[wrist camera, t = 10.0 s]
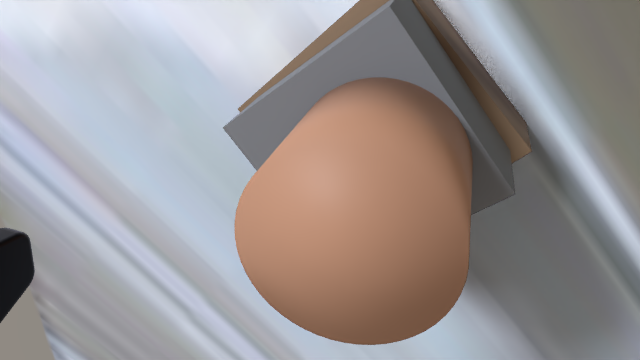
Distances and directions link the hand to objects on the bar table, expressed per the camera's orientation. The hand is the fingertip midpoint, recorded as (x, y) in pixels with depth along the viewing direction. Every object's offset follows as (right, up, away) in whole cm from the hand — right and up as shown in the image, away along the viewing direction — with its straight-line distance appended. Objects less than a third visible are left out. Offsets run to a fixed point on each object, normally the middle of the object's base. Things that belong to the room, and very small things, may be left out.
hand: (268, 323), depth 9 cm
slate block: (+3, +4, +9) cm, 10 cm away
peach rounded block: (+3, +3, +6) cm, 7 cm away
